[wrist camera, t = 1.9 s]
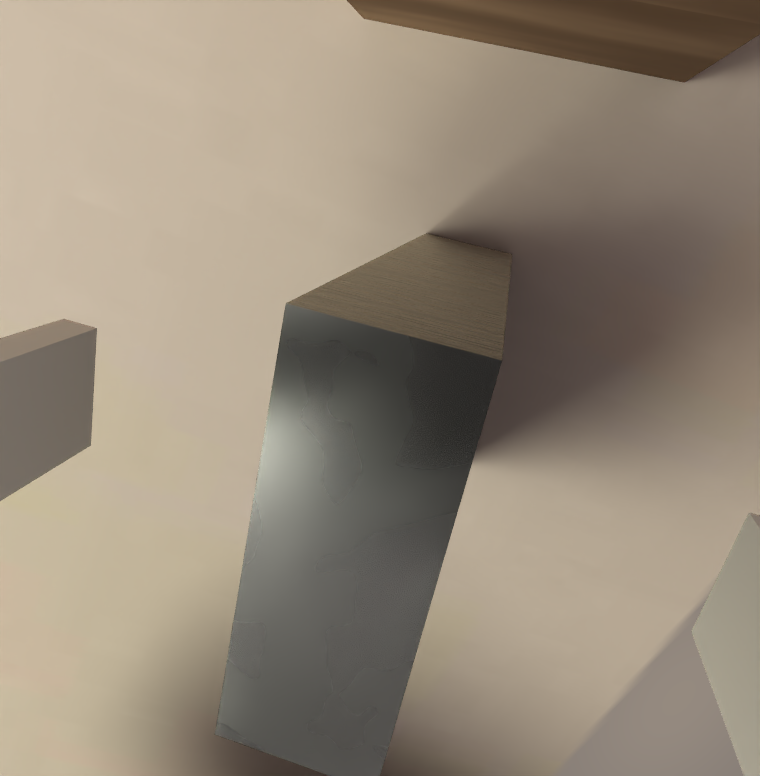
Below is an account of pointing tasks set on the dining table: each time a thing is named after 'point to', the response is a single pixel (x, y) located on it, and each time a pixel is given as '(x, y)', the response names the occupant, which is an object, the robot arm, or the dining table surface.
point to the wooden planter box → (590, 28)
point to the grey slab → (359, 498)
